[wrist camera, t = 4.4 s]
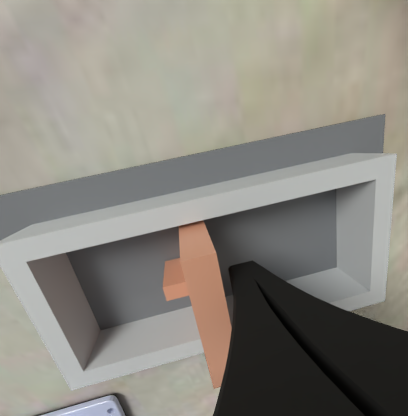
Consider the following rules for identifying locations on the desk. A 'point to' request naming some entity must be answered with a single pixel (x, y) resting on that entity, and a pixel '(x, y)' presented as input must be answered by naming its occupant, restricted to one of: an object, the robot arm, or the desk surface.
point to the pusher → (201, 293)
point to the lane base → (218, 231)
